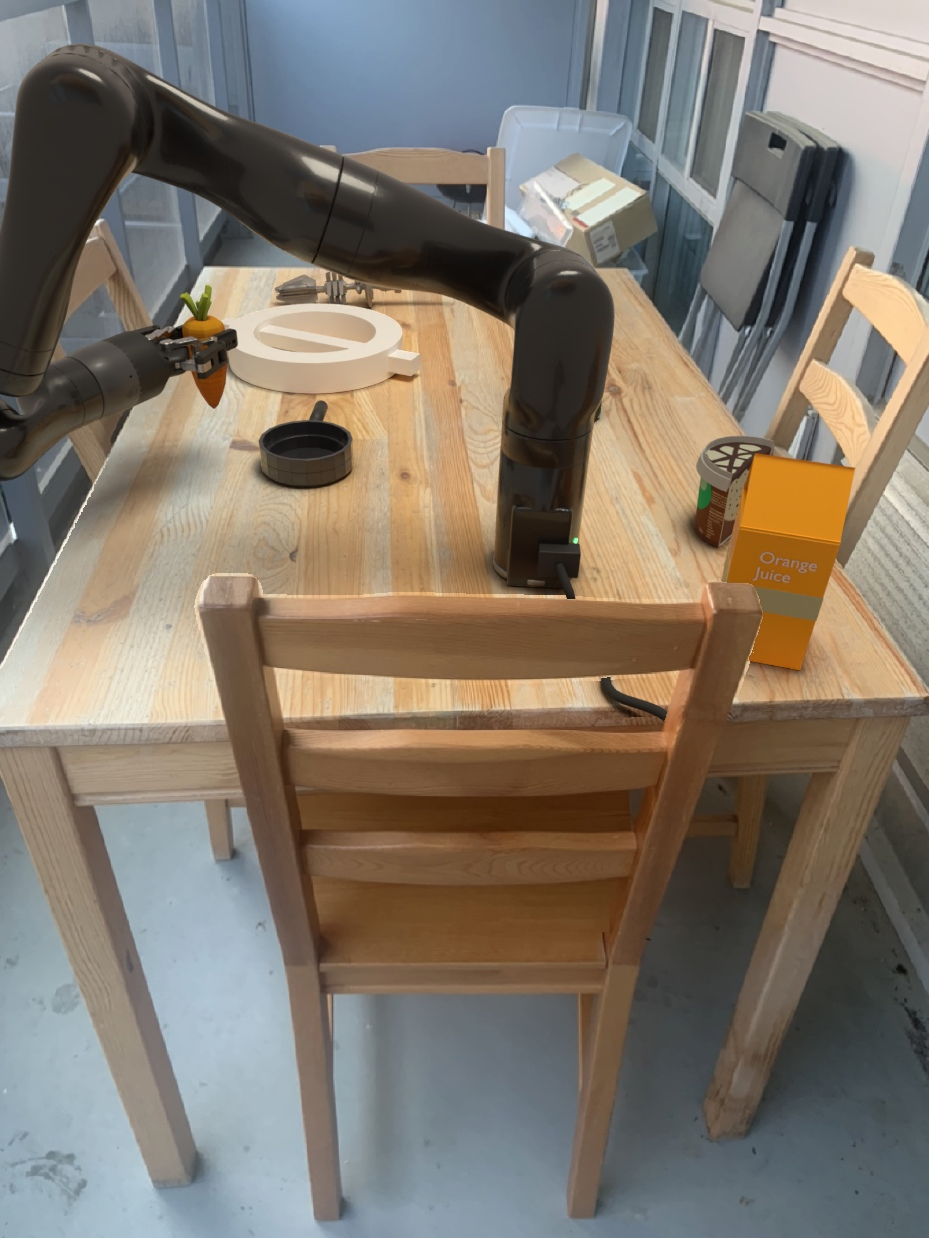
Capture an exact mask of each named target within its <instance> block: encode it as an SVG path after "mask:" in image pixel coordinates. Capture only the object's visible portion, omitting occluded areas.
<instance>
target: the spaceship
mask: <svg viewBox="0 0 929 1238" xmlns="http://www.w3.org/2000/svg"><path fill="white" fill-rule="evenodd" d="M351 290H355V291H356V293H357V295H361V294H362V293H363V291H364V296H365V301H366V304H368V307H369V308H372V307H373V300H374V297H375V296H374V290H378V291H381V292H384V293H386V292H391V291H394V293H395V294H401V293H402V291H403V290H400V289H391V288H384V287H379V286H373V285H369V284H365V283H361V282H358V281H354V282H352V283H347V282H346V280H345V279H344V277H343V276H340V275H338V274H335V273H332V272H330V271H327V272H325V281H324V284H323V285H319V286H317V280H316V279H315V278H313V277H310V276H308V275H307V274H301V275H298V276H296V277H294V278H292V279H290V280H287V281H285V282H282V284H280V285H278V286H276V287H274V291H275V292H274V293H275V294H276V296H275V298H276V299H275V300H277V301H280V302H284V303H286V304H289V305H295V304H315V303H316V302H317V301H318V300H319V296H318V295H319V294H324V293H325V295H327V297H328V299H329V304H339V305H340V304H341V305H346V303H347V293H348V291H351Z"/></svg>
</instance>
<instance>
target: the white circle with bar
mask: <svg viewBox="0 0 929 1238" xmlns="http://www.w3.org/2000/svg"><path fill="white" fill-rule="evenodd" d="M220 321H221V322H222V323H223V324H224V327H225V330H227V329H229V328H230V329H235V330H236V332H237V339H238V346H237V347H236V348H234V349H231V350H229V351H227V357H228V364H229V368H230V370H231V372H232V373H233V374H234V375H235V376H236V377H238V378H239V379H240V380H242V381H244V382H246V383H248V384H250V385H253V386H256V387H260V388H263V389H266V390H271V391H276V392H277V391H278V392H282V393H283V392H284V393H290V394H291V393H292V394H313V395H314V394H332V393H333V394H334V393H342V392H349V391H355V390H359V389H363V388H367V387H371V386H374V385H377V384H380V383H382V382H384V381H386V380H389V378H391V377H393V376H394V375H396V374H399V375H402V376H407V377H412V376H413V375H415V374H416V373H417V372H418V371H420V370H421V353H418V352H413V351H407V350H403V347H404V346H403V328H402V326H401V325H400V323H399V322H397V320H395V319H394V318H392V317H390V316H388V315H387V314H384V313H382V312H379V311H376V310H373V309H369V308H364V307H361V306H355V305H348V304H340V303H339V304H336V303H334V304H330V303H313V304H286V305H278V306H274V307H269V308H264V309H259V310H257V311H253V312H250V313H248V314H245V315H243V316H241V317H239V318H235V317H229V316H228V317H226V318H224V319H222V320H220Z"/></svg>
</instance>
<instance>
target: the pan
mask: <svg viewBox="0 0 929 1238" xmlns="http://www.w3.org/2000/svg"><path fill="white" fill-rule="evenodd" d="M258 449H259V457H260V458H259V459H260V466H261V471H262V473H263V474H265V475H266V476H267V478H269V479H271V480H273V481H275V482H276V483H280V484H281V485H285V486H289V487H295V488H296V487H297V488H313V487H319V486H326V485H330V484H332V483H334V482H337V481H339V480H340V479H342V478H344V477H345V476H347V475H348V474H349V473H350V472H351V471H352V470H353V466H354V464H355V461H354V460H355V457H354V438H353V435H352V433H351V432H350V431H349V430H348V429H347V428H345V427H344V426H342V425H339V424H337V423H335V422H330V421H325V420H323V421H317V420H309V419H304V420H302V419H301V420H293V421H288V422H287V421H286V422H282V423H279V424H276V425H274V426H272V427H270V428H268V429H266V430H265V431H264V432H262V433H261V435H260V437H259V439H258Z"/></svg>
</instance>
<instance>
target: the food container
mask: <svg viewBox="0 0 929 1238" xmlns="http://www.w3.org/2000/svg"><path fill="white" fill-rule="evenodd" d="M775 444H776V441H775V440H772V439H769V438H765V437H761V436H760V437H759V436H753V435H727V436H721V437H718V438H715V439H713V440H711V441H710V442H708V443H707V444H706V446H705V447H704V448H703V449H702V451H701V453H700V455H699V457H698V459H697V461H696V465H695V468H696V472H697V474H698V475H699V476H700V479H699V486H698V493H697V502H696V503H697V504H696V511H695V519H694V531H695V533H696V535H698V537H699V538H700V539H701V540H702V541H704V542H705V543H707V544H709V545H710V546H713V547H715V548H716V549H719V548H720V547H722V546H723V545H724V544H725V543H726V542H727V541H729V540H730V539H731V536H732V532H733V527H734V523H735V519H736V515H737V511H738V506H739V502H740V498H741V494H742V490H743V488H744V485H745V482H746V479H747V476H748V473H749V470H750V467H751V464H752V461H753V458H754V455H755V453H757V454H764V455H771V456H774V452H775V447H776V446H775Z"/></svg>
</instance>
